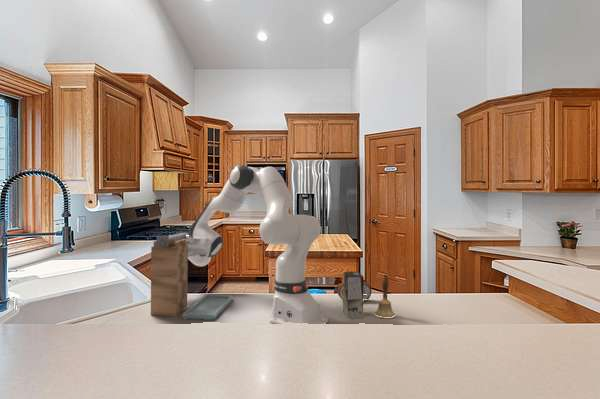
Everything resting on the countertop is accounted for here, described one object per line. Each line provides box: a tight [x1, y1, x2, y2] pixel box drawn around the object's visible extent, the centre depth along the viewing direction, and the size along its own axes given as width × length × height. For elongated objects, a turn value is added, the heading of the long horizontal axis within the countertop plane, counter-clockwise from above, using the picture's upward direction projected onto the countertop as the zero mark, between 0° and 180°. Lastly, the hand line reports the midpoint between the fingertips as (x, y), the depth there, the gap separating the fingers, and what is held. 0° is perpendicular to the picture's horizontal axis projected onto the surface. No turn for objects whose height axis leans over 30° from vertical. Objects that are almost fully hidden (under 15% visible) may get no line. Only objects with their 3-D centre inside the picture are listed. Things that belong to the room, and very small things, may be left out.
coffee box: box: [342, 271, 365, 319], centre depth 134 cm, size 9×6×16 cm
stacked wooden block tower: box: [150, 239, 189, 317], centre depth 133 cm, size 10×10×28 cm
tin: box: [337, 281, 372, 301], centre depth 151 cm, size 15×3×8 cm, turn 93°
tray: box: [181, 294, 233, 321], centre depth 137 cm, size 24×12×2 cm, turn 175°
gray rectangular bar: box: [155, 232, 189, 247], centre depth 137 cm, size 20×4×4 cm, turn 175°
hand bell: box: [374, 273, 396, 317], centre depth 134 cm, size 8×8×16 cm
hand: (180, 236), depth 142 cm, fingers closed on gray rectangular bar, 3 cm apart
